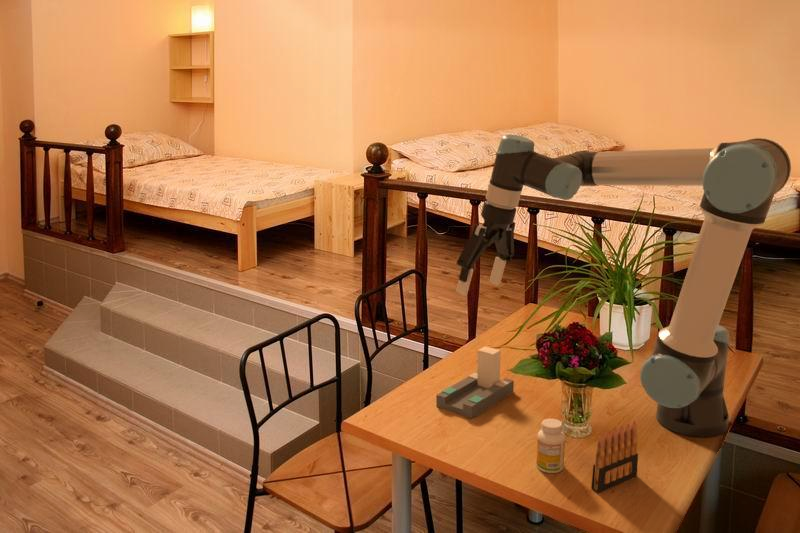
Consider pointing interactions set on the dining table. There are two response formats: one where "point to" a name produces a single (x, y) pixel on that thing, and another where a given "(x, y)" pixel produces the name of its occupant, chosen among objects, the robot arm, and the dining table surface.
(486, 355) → the switch tab
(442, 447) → the dining table surface
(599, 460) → the ammunition clip
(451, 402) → the switch base
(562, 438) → the supplement bottle
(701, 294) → the robot arm
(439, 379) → the dining table surface
